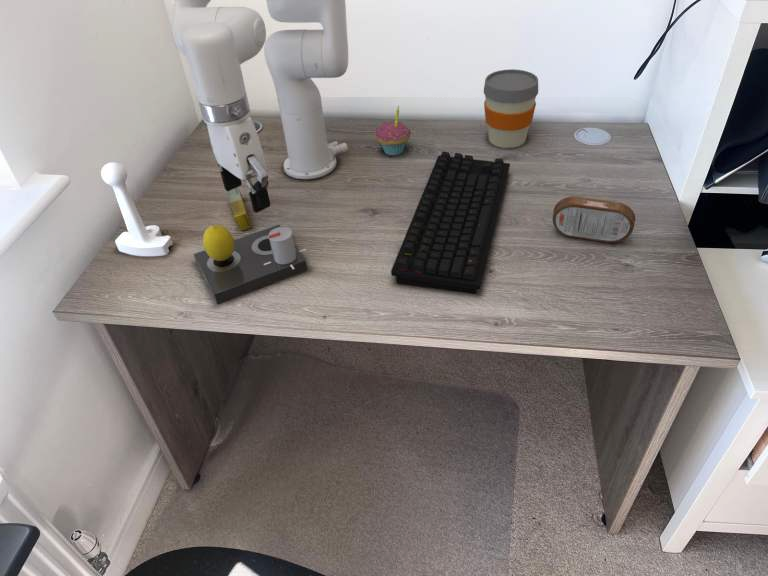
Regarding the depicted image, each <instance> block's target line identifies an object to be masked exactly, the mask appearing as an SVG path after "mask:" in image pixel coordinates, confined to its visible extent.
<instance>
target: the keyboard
mask: <svg viewBox="0 0 768 576" xmlns="http://www.w3.org/2000/svg"><path fill="white" fill-rule="evenodd" d="M510 167H511V163H509V162H505V161H504V158H503V157H502V158H495V159H494V161H493V160H492V161H491V160H484V159H475V158H474V156H473V155H470V154H469V155H467V154H465V155H463V153H460V152H454V156H451V154H450V152H449V151H442V152H441V154H440V155H437V157H436V160H435V163H434V165H433V168H432V170H431V172H430V175H429V177H428V180H427V182H426V184H425V187H424V190H423V192H422V195H421V197H420V199H419V200H418V201H419V202H418V204H417V207H416V209H415V211H414V213H413V216H412V219H411V220H410V223H409V226H408V229H407V231H406V233H405V235H404V238H403V240H402V243H401V245H400V248H399V250H398V253H397V255H396V258H395V260H394V263H393V265H392V267H391V270H390V274H391V276H392V277H395V280H396V284H398V285H405V286H411V287H420V288H424V289H425V288H426V289H434V290H442V291H447V292H456V293H462V294H463V293H464V294H469V295H470V294H471V295H477V292H478V290H481V288H482V284H483V279H484V275H485V271H486V267H487V263H488V258H489V255H490V250H491V247H492V246H491V245H492V242H493V238H494V235H495V234H494V233H495V230H496V226H497V221H498V217H499V213H500V208H501V205H502V200H503V197H504V192H505V189H506V184H507V179H508V176H509V172H510Z"/></svg>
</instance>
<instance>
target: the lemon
mask: <svg viewBox="0 0 768 576" xmlns="http://www.w3.org/2000/svg"><path fill="white" fill-rule="evenodd" d="M234 240H235V239H234V237H233V235H232V233H231V232H230V230H229V229H228V228H227V227H225V226H223V225H221V224H213V225H210V226H209V227H208V228H207V229H206V230H205V231H204V233H203V237H202V245H203V248H204V250H205V251H206V253H207V254H208V255H209V256H210V257H211V258H212V259H214V260H218V261H224V260H226V259H228V258H229V257H230V256H231V255H232V253H233V251H234Z"/></svg>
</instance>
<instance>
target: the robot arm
mask: <svg viewBox="0 0 768 576" xmlns="http://www.w3.org/2000/svg"><path fill="white" fill-rule="evenodd" d="M211 1H212V0H174V5H173V10H172V20H171V31H172V38H173V41H174V44H175V47H176V48H177V50H178V51H179V52H180V53H181V54H182V55H184V56H185V58H186V62H187V66H188V69H189V73H190V76H191V80H192V84H193V87H194V91H195V95H196V98H197V102H198V105H199V109H200V112H201V117H202V121H203V122H204V123H205V124H206V127H207V132H208V135H209V137H208V138H209V145H210V146H211V149H212V152H213V157H214V158H215V160H216V162H217V168H218V169H219V173H220V177H221V180H222V184H223V187H224V190H225V191H226V192H227V191H230V190H232V189H234V188H237V187H238V188H239V187H241V186H242V184H243V183H242V181H244V182H245V184H246V185H247V187H248V189H249V192H248V195H249V199H250V203H251V207H252V212H253V213H255V214H258V213H260V212H262V211H264V210H266V209H269V208H270V207H271V206H272V205H271V201H270V196H269V191H268V189H269V181H268V180H269V174H268V171H267V169H268V168H267V167H268V166H267V162H266V159H265V158H266V157H265V155H264V152H263V148H262V144H261V140H260V137H259V134H258V131H257V129H256V126H255V123H254V121H253V118H252V116H250V115H251V108H250V103H249V99H248V94H247V89H246V85H245V81H244V76H243V73H242V67H241V65H242V64H244V63H245V62H248V61H249V60H251V59H253V58H255V57H257V55H258V54H259V53H260V52H261V50H262V49H263V53H264V59H265V62H266V65H267V68H268V71H269V73H270V76H271V79H272V82H273V86H274V90H275V93H276V98H277V102H278V103H277V104H278V108H279V109H278V110H279V114H280V119H281V124H282V130H283V134H284V141H285V145H286V152H287V156H288V157H287V158H285V160H284V162H283V170H284V172H285V174H286V175H287V176H289V177H291V178H293V179H297V180H313V179H318V178H321V177H324V176H327V175H329V174H330V173H331V172H333V171H334V169H335V168H336V166H337V157H336V156H337V154H339V153H343V152H347V151H348V150H349V149H348V145H347V143H346V142H343V143H339V142H338V141H337V140H336V141H332V142H330V143H328V140H327V139H328V138H327V132H326V124H325V118H324V111H323V102H322V96H321V92H320V89H319V88H318V86H317V85H316V83H315V82H314V81H313V79H333V78H334V79H335V78H340V77H342V76H344V75H345V74H346V73H347V70H348V68H349V41H348V40H349V39H348V24H347V8H346V7H347V6H346V0H266V6H267V11H268V13H269V16H270V17H271V19H273V20H274V21H276V22H279V23H290V24H291V23H292V24H295V23H297V24H298V23H299V24H300V23H301V24H302V23H305V24H306V23H308V24H309V23H319V24H320V25H321V27H322V29H283V30H282V29H281V30H278V31H275V32H273V33H271V34H270V35H268V37H267V29H266V24H265V21H264V19H263V16H261V14H260V13H259V12H258V11H257V10H255V9H253V8H250V7H246V6H208V5H209V3H210V2H211ZM250 171H253V172H251V173H249V172H250ZM248 173H249V174H248ZM253 178H256V181H255V183H254V184H253V182H252V180H251V179H253Z"/></svg>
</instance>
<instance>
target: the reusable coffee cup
mask: <svg viewBox="0 0 768 576" xmlns="http://www.w3.org/2000/svg"><path fill="white" fill-rule="evenodd" d="M483 94H484V97H485V99H484V102H483V107H484V118H485V120H484V121H485V123H486V124H487V134H488V141H489V143H490V144H492V145H493V146H495V147H498V148H502V149H512V148H517V147H521V146H522V145H524V144H525V143H526V141H527V136H528V132H529V128H530V126H531V124H532V122H533V118H534V114H535V110H536V106H537V101H536V98H537V96H538V95H539V77H538V76H537V75H536V74H534V73H532V72H530V71H527V70H523V69H516V68H515V69H514V68H513V69H512V68H511V69H500V70H497V71H493V72H491V73H490V74H488V75H486V77H485V80H484V84H483Z"/></svg>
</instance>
